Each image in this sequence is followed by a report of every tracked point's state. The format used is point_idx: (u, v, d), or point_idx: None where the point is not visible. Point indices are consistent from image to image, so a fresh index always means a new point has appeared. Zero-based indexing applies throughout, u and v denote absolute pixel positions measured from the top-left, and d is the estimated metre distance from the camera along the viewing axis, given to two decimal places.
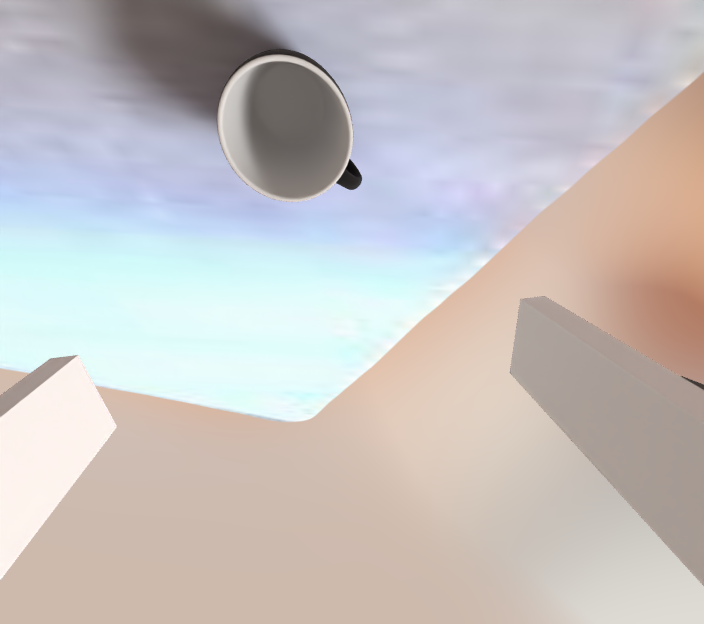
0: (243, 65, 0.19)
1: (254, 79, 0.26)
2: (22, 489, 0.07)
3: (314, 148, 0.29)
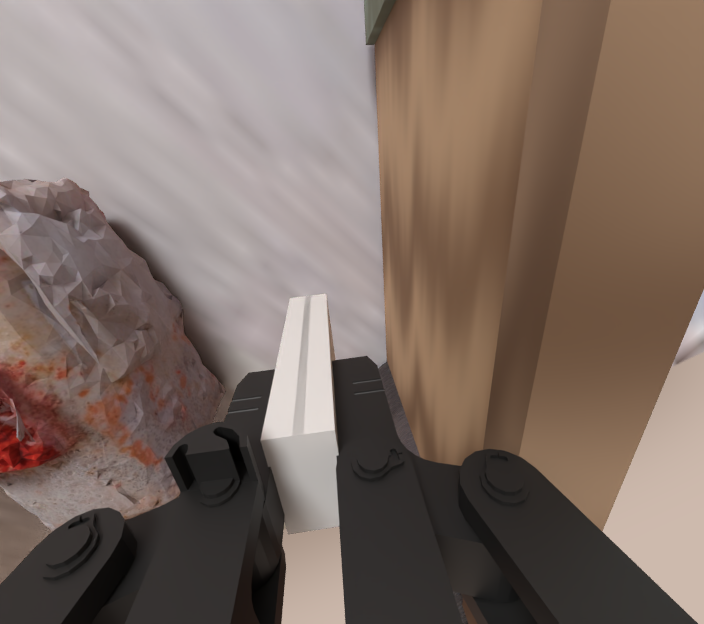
0: None
1: None
2: None
3: None
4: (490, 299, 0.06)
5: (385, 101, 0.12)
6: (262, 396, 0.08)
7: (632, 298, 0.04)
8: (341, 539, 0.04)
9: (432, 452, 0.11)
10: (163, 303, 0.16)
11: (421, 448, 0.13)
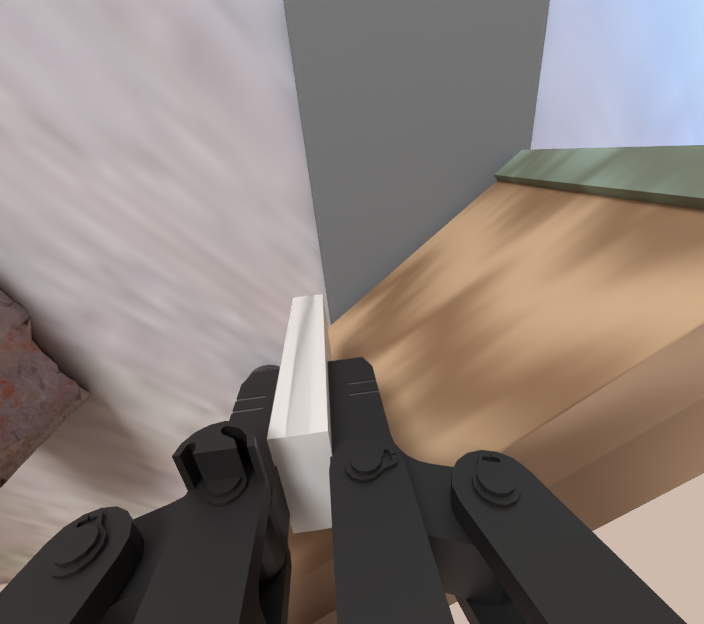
0: None
1: None
2: None
3: None
4: (495, 424, 0.07)
5: (476, 219, 0.15)
6: (267, 395, 0.08)
7: (595, 499, 0.06)
8: (333, 540, 0.04)
9: None
10: None
11: None
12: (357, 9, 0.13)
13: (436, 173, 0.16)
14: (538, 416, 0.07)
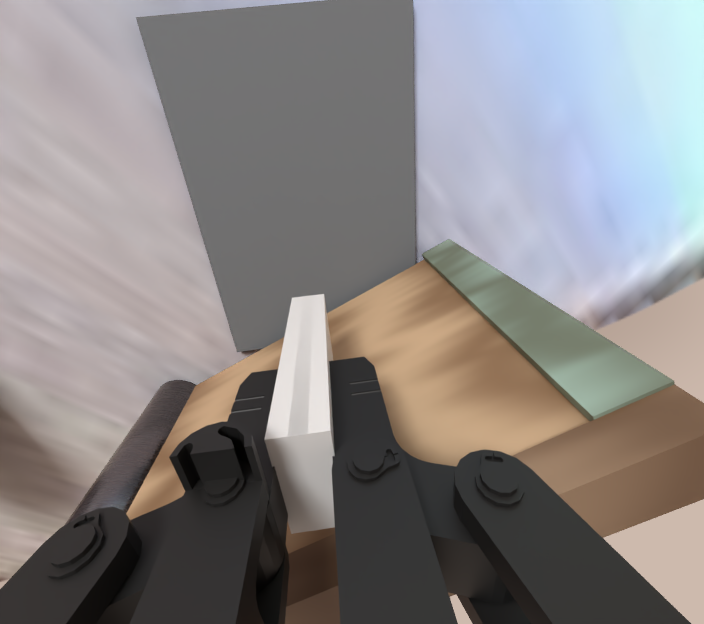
0: None
1: None
2: None
3: None
4: None
5: (394, 293, 0.16)
6: (265, 395, 0.08)
7: None
8: (336, 540, 0.04)
9: None
10: None
11: (145, 494, 0.13)
12: (215, 29, 0.13)
13: (321, 191, 0.16)
14: None
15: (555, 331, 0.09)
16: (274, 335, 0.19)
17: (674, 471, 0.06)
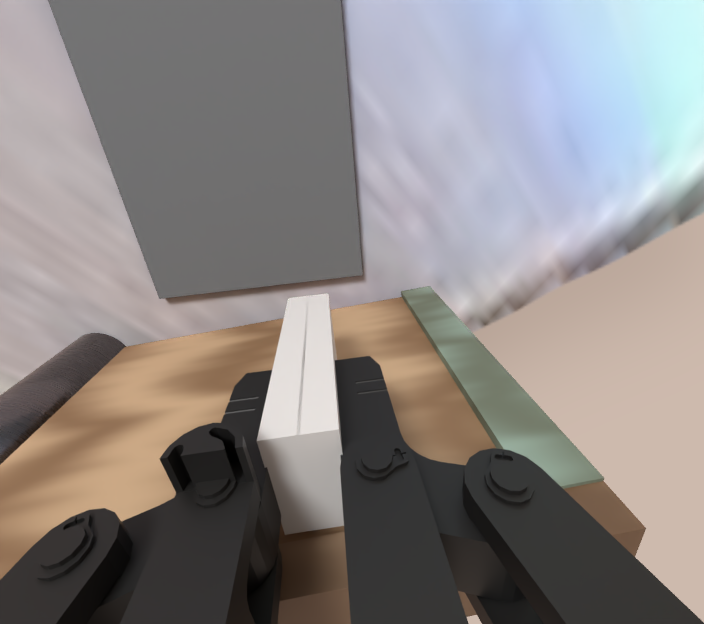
0: None
1: None
2: None
3: None
4: None
5: (366, 319, 0.16)
6: (259, 396, 0.08)
7: None
8: (345, 538, 0.04)
9: (34, 478, 0.10)
10: None
11: (27, 452, 0.11)
12: None
13: (240, 101, 0.14)
14: None
15: (511, 403, 0.09)
16: (200, 279, 0.17)
17: None
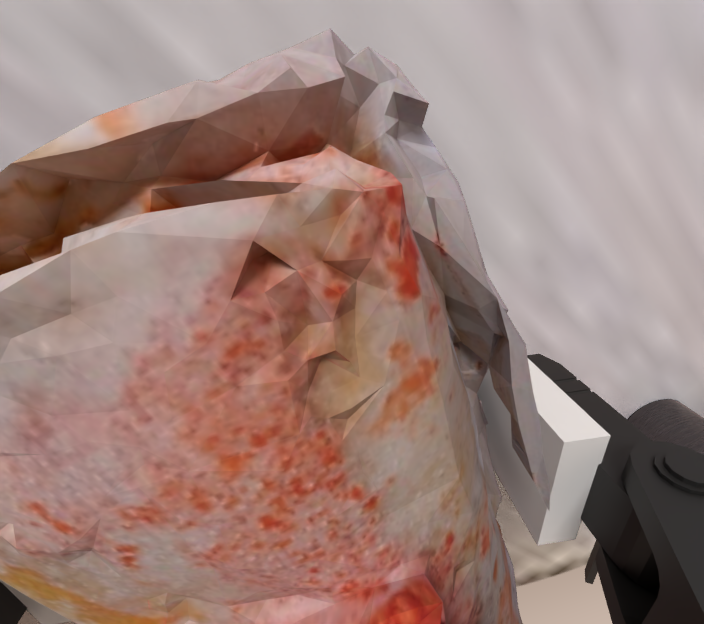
0: None
1: None
2: None
3: None
4: None
5: None
6: None
7: None
8: (662, 538, 0.04)
9: None
10: None
11: None
12: None
13: None
14: None
15: None
16: None
17: None
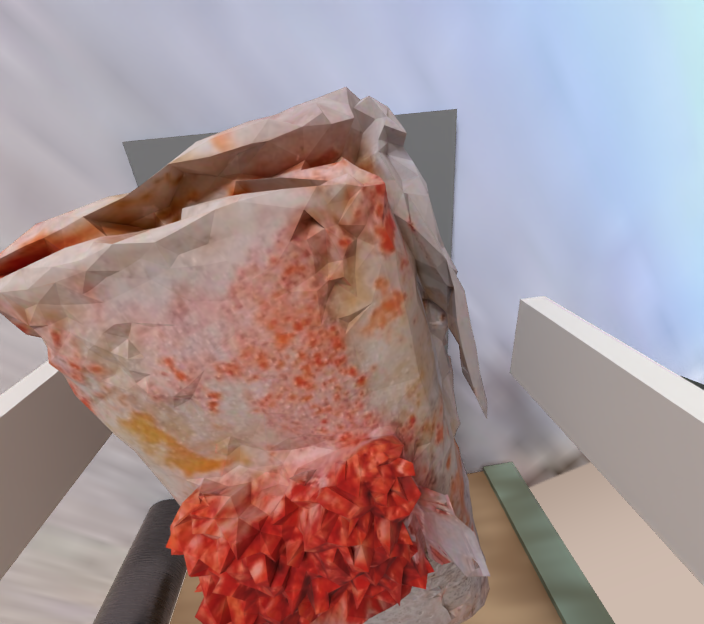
0: None
1: None
2: (22, 489, 0.07)
3: None
4: None
5: None
6: None
7: None
8: None
9: None
10: None
11: None
12: None
13: None
14: None
15: None
16: None
17: None
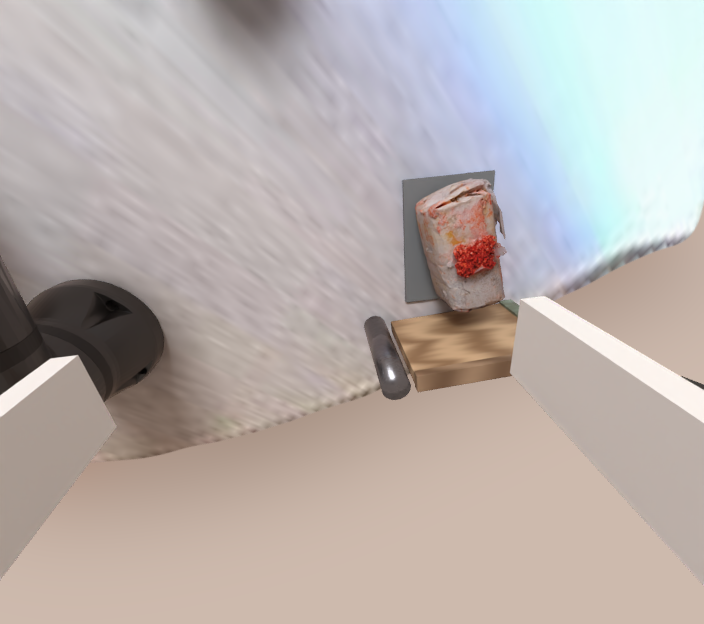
0: None
1: None
2: (22, 489, 0.07)
3: None
4: (492, 354, 0.35)
5: (490, 312, 0.43)
6: None
7: (506, 369, 0.33)
8: None
9: (422, 352, 0.37)
10: None
11: (408, 348, 0.38)
12: (427, 182, 0.38)
13: None
14: (502, 355, 0.34)
15: None
16: (423, 295, 0.44)
17: None
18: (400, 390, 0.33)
